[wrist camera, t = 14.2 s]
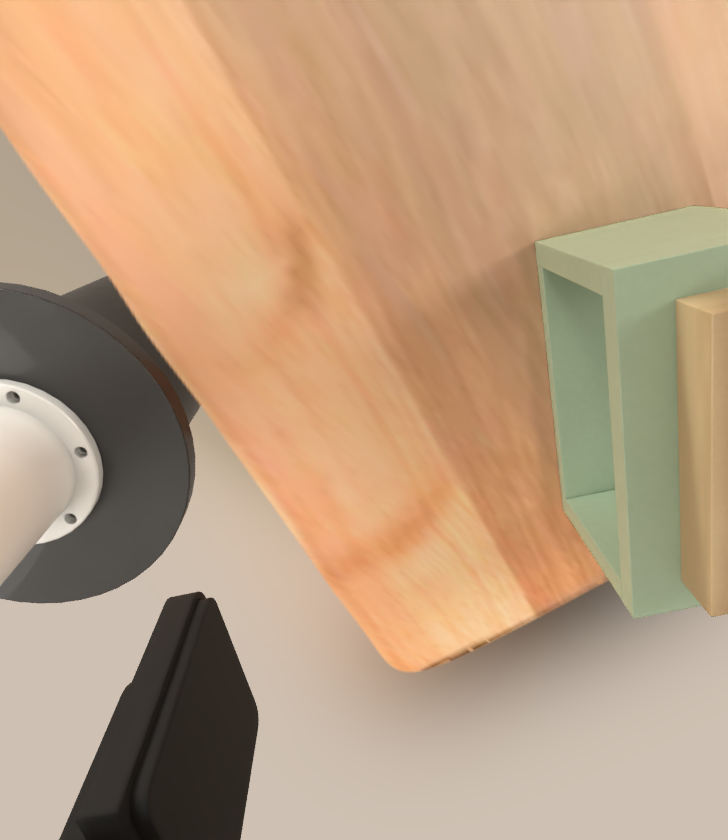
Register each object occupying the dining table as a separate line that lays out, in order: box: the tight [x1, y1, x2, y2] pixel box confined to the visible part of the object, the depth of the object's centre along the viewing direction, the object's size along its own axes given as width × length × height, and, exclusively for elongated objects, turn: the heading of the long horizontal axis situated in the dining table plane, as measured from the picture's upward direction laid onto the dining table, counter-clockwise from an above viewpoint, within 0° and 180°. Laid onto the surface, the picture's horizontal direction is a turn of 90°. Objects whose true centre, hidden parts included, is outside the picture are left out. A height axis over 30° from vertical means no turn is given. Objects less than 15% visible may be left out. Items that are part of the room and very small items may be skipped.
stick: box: [676, 288, 728, 617], centre depth 29 cm, size 3×16×3 cm, turn 12°
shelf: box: [535, 206, 728, 618], centre depth 36 cm, size 10×20×12 cm, turn 12°
